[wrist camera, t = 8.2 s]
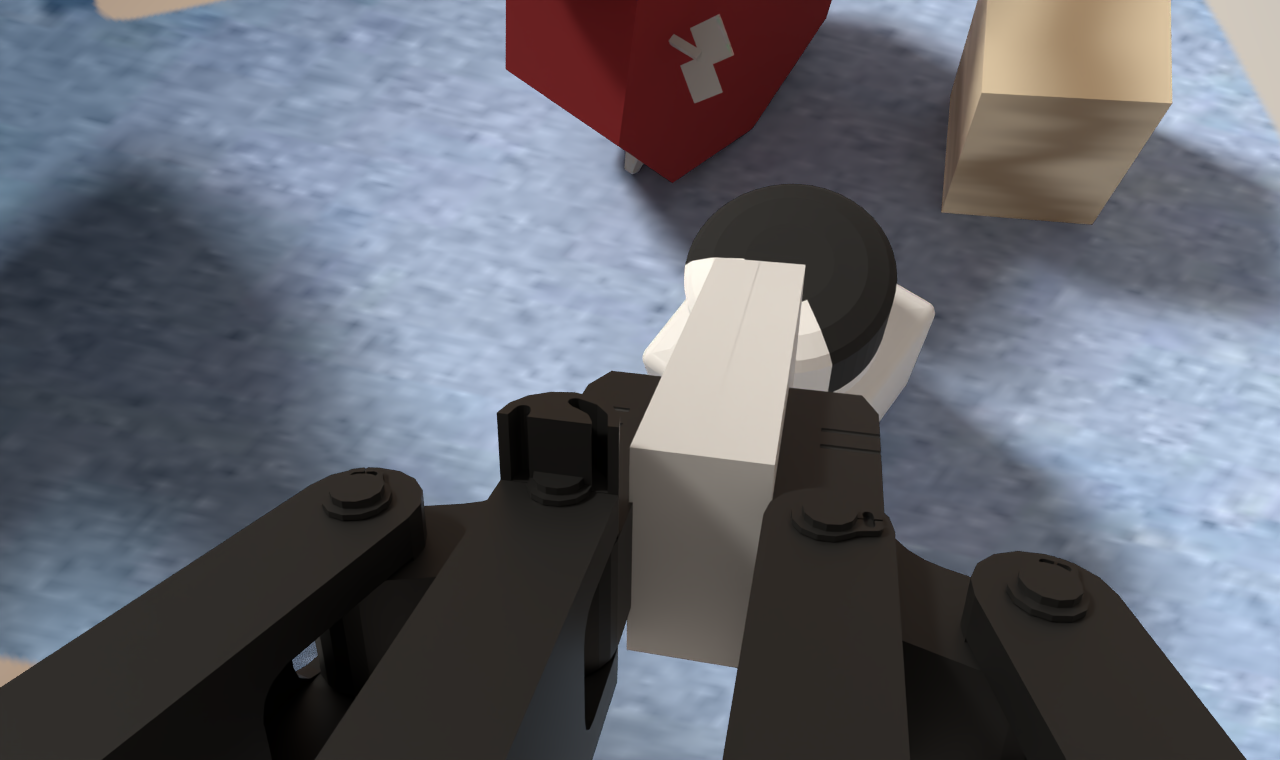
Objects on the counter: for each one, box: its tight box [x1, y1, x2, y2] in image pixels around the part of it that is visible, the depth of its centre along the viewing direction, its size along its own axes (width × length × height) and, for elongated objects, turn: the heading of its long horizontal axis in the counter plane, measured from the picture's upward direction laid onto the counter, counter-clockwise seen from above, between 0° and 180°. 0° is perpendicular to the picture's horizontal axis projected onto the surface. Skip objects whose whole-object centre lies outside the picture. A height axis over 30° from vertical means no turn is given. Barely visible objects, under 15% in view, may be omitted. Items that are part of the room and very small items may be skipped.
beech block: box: [941, 0, 1172, 225], centre depth 35 cm, size 6×6×8 cm
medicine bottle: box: [643, 184, 935, 422], centre depth 31 cm, size 7×7×12 cm
